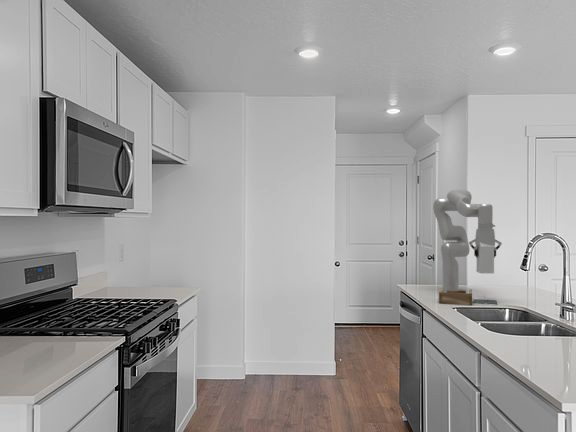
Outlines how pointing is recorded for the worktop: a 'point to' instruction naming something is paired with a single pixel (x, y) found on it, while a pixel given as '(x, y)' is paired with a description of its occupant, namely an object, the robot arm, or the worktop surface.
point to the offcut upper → (457, 291)
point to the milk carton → (485, 258)
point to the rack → (455, 298)
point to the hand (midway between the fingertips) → (485, 257)
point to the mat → (485, 301)
